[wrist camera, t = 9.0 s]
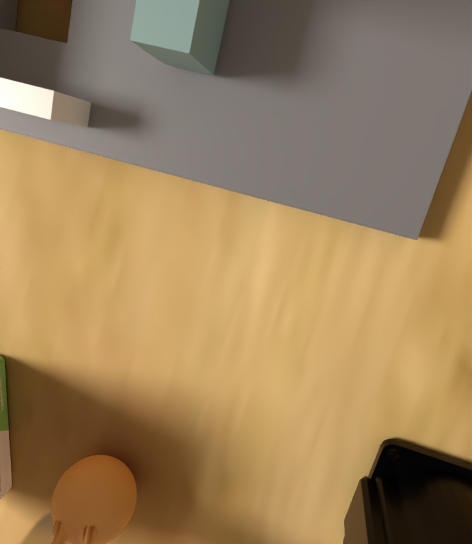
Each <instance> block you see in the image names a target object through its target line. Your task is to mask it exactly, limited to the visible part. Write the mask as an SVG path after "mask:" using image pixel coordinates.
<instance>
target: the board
mask: <svg viewBox="0 0 472 544" xmlns="http://www.w3.org/2000/svg"><path fill="white" fill-rule="evenodd" d="M135 6H136V0H72V8H71V16H70V25H69V33H68V41H67V43H64V42H60V41H55V40H51V39H46V38H42V37H38V36H33V35H29V34H25V33H20V32H16V31H15V30H16V20H17V9H18V0H0V78H4V79H8V80H12V81H16V82H20V83H24V84H28V85H32V86H36V87H40V88H44V89H48V90H53V91H56V92H59V93H62V94H66V95H69V96H72V97H75V98H78V99H82V100H85V101H88V102H91V107H90V115H89V122H88V127H83V126H79V125H74V124H69V123H64V122H59V121H54V120H49V119H45V118H42V117H38V116H34V115H30V114H26V113H22V112H18V111H15V110H11V109H7V108H3V107H0V129H2V130H5V131H9V132H13V133H17V134H20V135H24V136H28V137H32V138H36V139H39V140H43V141H47V142H51V143H54V144H58V145H62V146H66V147H69V148H73V149H77V150H81V151H84V152H88V153H92V154H96V155H99V156H103V157H107V158H111V159H114V160H118V161H122V162H126V163H129V164H133V165H137V166H141V167H144V168H148V169H152V170H156V171H159V172H163V173H167V174H171V175H174V176H178V177H182V178H186V179H189V180H193V181H197V182H201V183H204V184H208V185H212V186H216V187H219V188H223V189H227V190H231V191H234V192H238V193H242V194H246V195H249V196H253V197H257V198H261V199H264V200H268V201H272V202H276V203H279V204H283V205H287V206H291V207H294V208H298V209H302V210H306V211H309V212H313V213H317V214H321V215H324V216H328V217H332V218H336V219H339V220H343V221H347V222H351V223H354V224H358V225H362V226H366V227H369V228H373V229H377V230H381V231H384V232H388V233H392V234H396V235H399V236H403V237H407V238H411V239H414V240H417V239H418V236H419V234H420V231H421V228H422V225H423V223H424V220H425V217H426V214H427V212H428V209H429V206H430V203H431V201H432V198H433V195H434V193H435V190H436V187H437V184H438V182H439V179H440V176H441V173H442V171H443V168H444V165H445V162H446V160H447V157H448V154H449V152H450V149H451V146H452V143H453V141H454V138H455V135H456V132H457V130H458V127H459V124H460V121H461V119H462V116H463V113H464V111H465V108H466V105H467V102H468V100H469V97H470V94H471V91H472V0H230V1H229V6H228V11H227V15H226V20H225V25H224V29H223V34H222V39H221V44H220V48H219V53H218V58H217V63H216V67H215V72H214V75H210V74H205V73H201V72H196V71H192V70H188V69H183V68H179V67H174V66H170V65H166V64H164V63H162V62H161V61H159V60H158V59H156V58H155V57H153V56H152V55H151V54H149V53H148V52H146V51H145V50H143V49H142V48H140V47H139V46H138V45H136V44H135V43H133V42H132V41H130V37H131V31H132V25H133V18H134V12H135Z"/></svg>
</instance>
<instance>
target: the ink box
mask: <svg viewBox="0 0 472 544" xmlns="http://www.w3.org/2000/svg"><path fill="white" fill-rule="evenodd" d="M11 487H12V474H11V458H10V442H9V424H8V407H7V390H6V372H5V360H4V358H3V357H2V356H0V499H1V498H2V497H3V496H4V495H5V494H6V493H7V492H8V491H9V490H10V489H11Z"/></svg>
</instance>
